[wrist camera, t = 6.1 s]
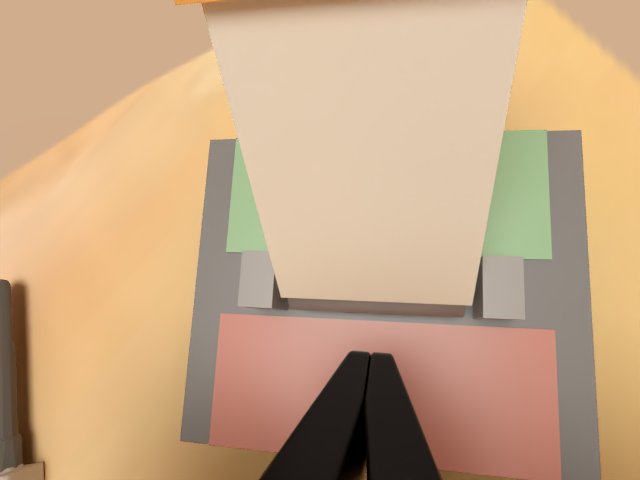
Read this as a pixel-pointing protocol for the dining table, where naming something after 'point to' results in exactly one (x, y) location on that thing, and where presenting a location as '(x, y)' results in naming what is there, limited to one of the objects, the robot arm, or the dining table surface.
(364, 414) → the robot arm
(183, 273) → the dining table surface
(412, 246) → the breaker lever
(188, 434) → the breaker housing
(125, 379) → the dining table surface
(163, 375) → the dining table surface
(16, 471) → the walkie-talkie
